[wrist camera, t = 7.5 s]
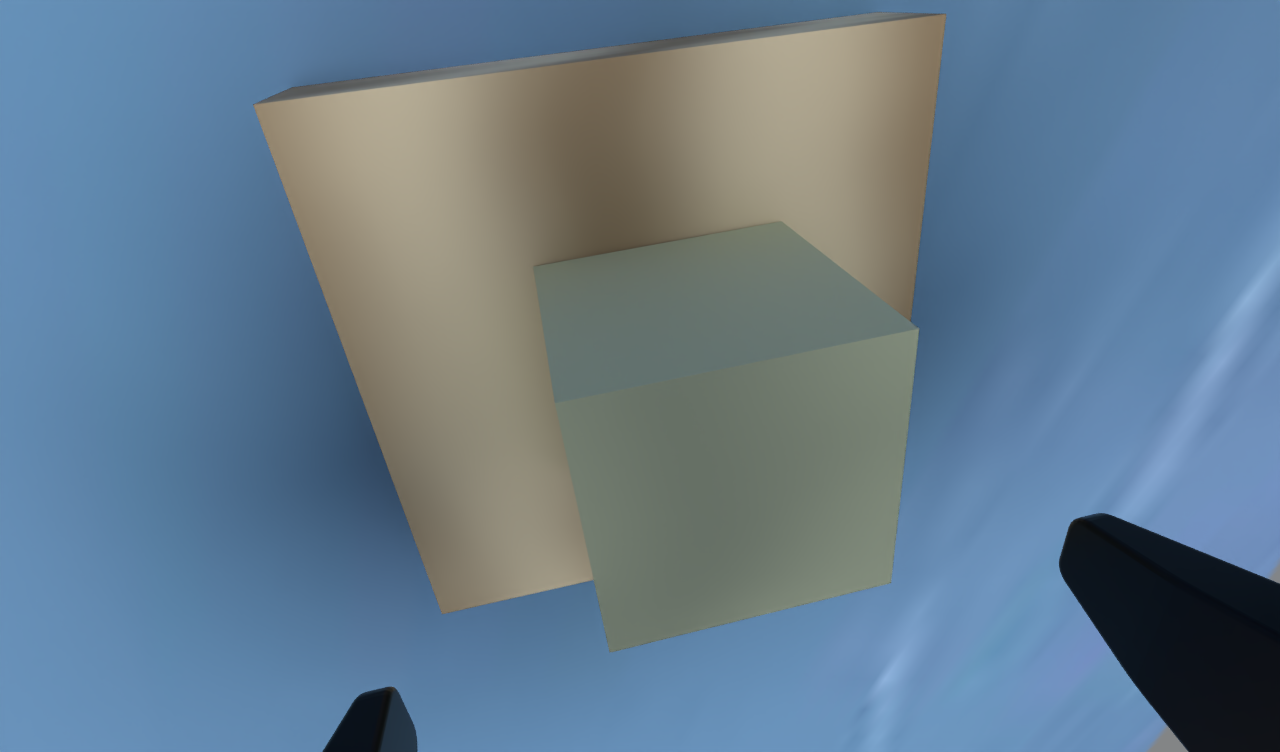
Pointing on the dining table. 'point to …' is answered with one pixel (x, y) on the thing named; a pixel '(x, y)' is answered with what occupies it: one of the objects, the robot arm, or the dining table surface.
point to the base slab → (576, 235)
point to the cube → (727, 426)
